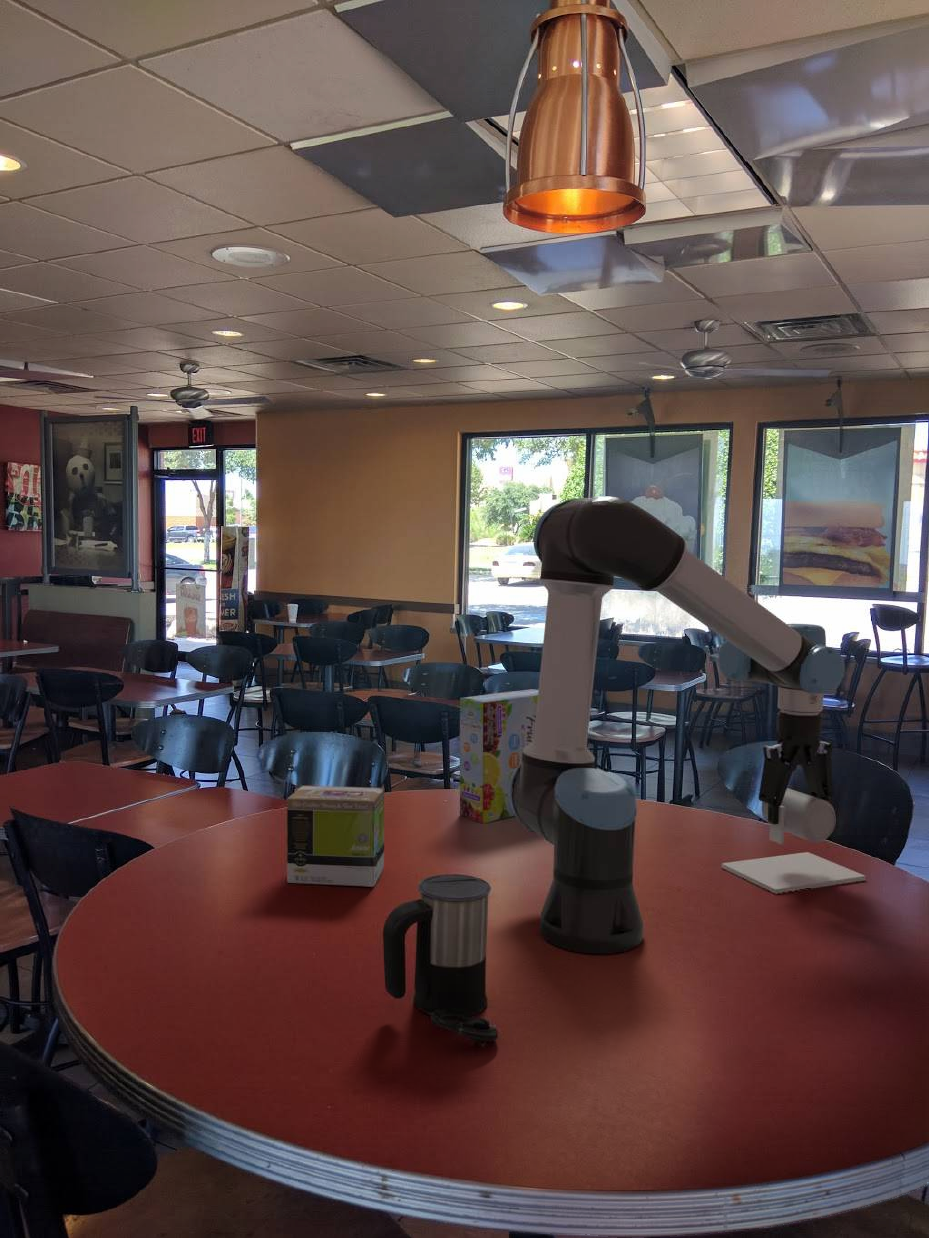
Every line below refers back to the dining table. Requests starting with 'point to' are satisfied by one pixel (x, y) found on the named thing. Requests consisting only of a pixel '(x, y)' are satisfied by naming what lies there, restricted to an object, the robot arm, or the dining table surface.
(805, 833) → the can
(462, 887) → the milk frother
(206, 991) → the dining table surface
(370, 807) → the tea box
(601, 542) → the robot arm
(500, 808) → the snack box
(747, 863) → the placemat
